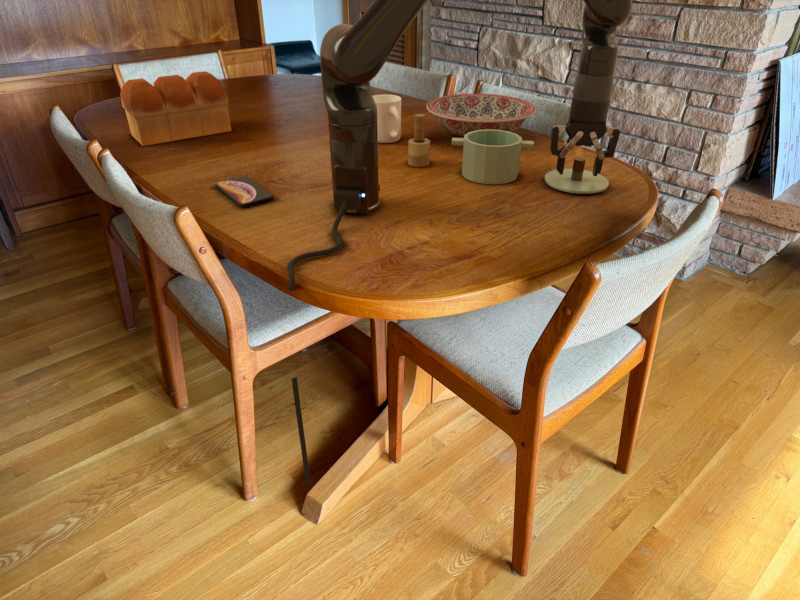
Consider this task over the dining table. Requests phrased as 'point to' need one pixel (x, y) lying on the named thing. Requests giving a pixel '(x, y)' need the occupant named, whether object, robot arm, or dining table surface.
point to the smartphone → (244, 191)
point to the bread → (175, 107)
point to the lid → (577, 179)
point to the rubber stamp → (419, 144)
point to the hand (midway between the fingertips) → (577, 174)
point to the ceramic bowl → (480, 112)
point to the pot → (491, 155)
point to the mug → (388, 117)
